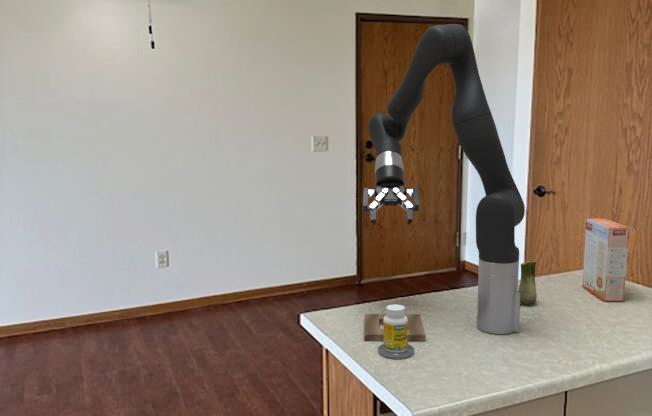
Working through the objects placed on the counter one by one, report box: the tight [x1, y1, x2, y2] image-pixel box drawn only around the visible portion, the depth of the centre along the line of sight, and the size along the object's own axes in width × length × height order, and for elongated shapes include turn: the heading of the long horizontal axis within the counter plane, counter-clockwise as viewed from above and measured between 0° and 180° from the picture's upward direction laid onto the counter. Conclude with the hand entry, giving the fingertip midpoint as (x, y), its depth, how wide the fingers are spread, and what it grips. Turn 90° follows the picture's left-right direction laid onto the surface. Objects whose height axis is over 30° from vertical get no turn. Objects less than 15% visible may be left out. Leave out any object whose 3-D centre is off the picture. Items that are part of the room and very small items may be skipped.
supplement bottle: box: [383, 303, 409, 353], centre depth 127 cm, size 5×5×10 cm
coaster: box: [377, 343, 415, 360], centre depth 127 cm, size 8×8×1 cm
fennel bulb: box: [518, 260, 538, 306], centre depth 156 cm, size 6×5×12 cm
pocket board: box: [363, 313, 426, 342], centre depth 140 cm, size 14×14×2 cm
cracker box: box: [581, 217, 630, 302], centre depth 163 cm, size 14×6×21 cm, turn 179°
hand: (391, 223), depth 144 cm, fingers open, 8 cm apart
